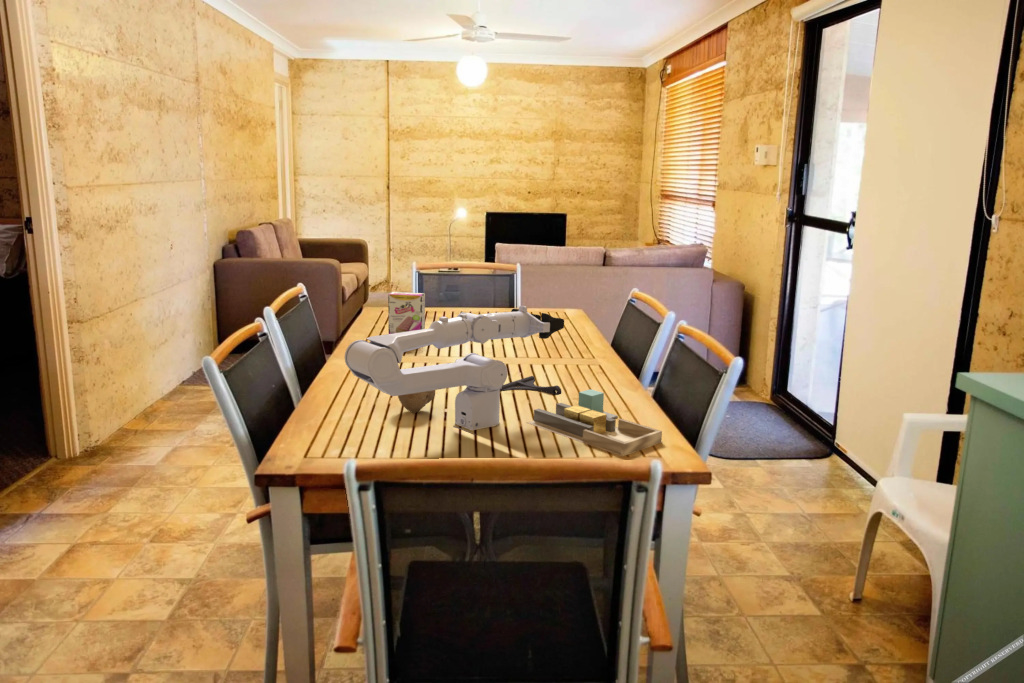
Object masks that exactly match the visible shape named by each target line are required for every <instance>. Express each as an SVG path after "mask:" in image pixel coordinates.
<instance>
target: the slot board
mask: <svg viewBox="0 0 1024 683" xmlns="http://www.w3.org/2000/svg"><path fill="white" fill-rule="evenodd" d="M568 407H572V405H570V404H566V403H563V402H558V403H556V404H555V413H554V412H552V411H547V410H545V409H541V408H537V409H534V410H533V420H531V421H527V422H526V424H529V425H531V426H535V427H538V428H540V429H543V430H546V431H549V432H551V433H554V434H557V435H560V436H563V437H566V438H569V439H572V440H574V441H577V442H580V443H583V444H586V445H589V446H591V447H594V448H597V449H600V450H603V451H606V452H609V453H611V454H614V455H617V456H620V457H624V456H627V455H630V454H633V453H636V452H640V451H642V450H644V449H648V448H650V447H653V446H656V445H659V444H661V443H663V441H662V439H663V431H662V430H659V429H656V428H652V427H650V426H647V425H643V424H641V423H636V422H633V421H630V420H627V419H624V418H619V419H618V420H616V418H615V419H612V418H608V417H606V432H605V433H602V434H598V433H595V432H594V426H591V425H588V424H585V423H582V422H579V421H576V420H573V419H570V418H566V417H564V409H565V408H568ZM616 421H618V423H617V424H616ZM616 425H617V426H616Z"/></svg>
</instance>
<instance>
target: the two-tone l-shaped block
mask: <svg viewBox="0 0 1024 683" xmlns="http://www.w3.org/2000/svg"><path fill="white" fill-rule="evenodd" d="M604 398H605V393H604V392H601V391H599V390H596V389H585V390H582V391H579V392H578V404H577V405H578V406H581V407H584V408H588V409H591V410H594V411H598V412H601V413H604V414H607V416H606V417H608V418H612V419H615V420H616V419H618V415H617V414H613V413H610V412H606V411H604Z"/></svg>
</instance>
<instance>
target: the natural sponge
mask: <svg viewBox="0 0 1024 683" xmlns="http://www.w3.org/2000/svg"><path fill="white" fill-rule="evenodd" d="M435 395H436V390H432V391H425V392H419V393H412V394H406V395H399V396H397V397H398V400H399V402H400V404H401V405H402V406H403V407H404V408H405V409H406V410H407V411H408V412H409V413H415V414H416V413H418V412H421V410H422V409H423V408H424V407H426V405H427V404H429V403H431V401H433V399H434V398H435Z"/></svg>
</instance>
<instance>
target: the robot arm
mask: <svg viewBox="0 0 1024 683" xmlns="http://www.w3.org/2000/svg"><path fill="white" fill-rule="evenodd" d="M438 319H439V320H435V321H433V322H431V324H430V326H429V327H428V328H425V329H422V330H415V331H408V332H401V333H394V334H389V333H388V334H387V333H386V334H381V335H379V334H378V335H371V336H369V337H366V338H365V340H364V339H357V340H353V341H352V342H351V343H350V344H349V345H348V346H347V348H346V349H345V352H344V362H345V365H346V366H347V368H348V369H349V371H350V372H351V373H352V375H353V376H355V377H357V378H358V379H360V380H362V381H363V382H365V383H367V384H368V385H371V386H372V387H374V388H375V389H377V390H378V391H380V392H382V393H383V394H386V395H389V396H391V397H398V396H399V395H406V394H412V393H419V392H425V391H432V390H435V391H437V390H444V389H451V388H457V387H464V386H465V388H464V390H462V391H459V392H458V393H457V394H456V396H455V400H454V424H455V425H453V427H454V428H457V429H458V430H461V431H464V432H467V433H468V434H469V433H470V434H471V435H475V436H476V435H477V434H476V433H473V432H470V431H475V430H480V429H483V428H484V429H485V428H492V427H495V426H497V425H499V424H500V404H501V403H500V402H501V401H500V400H501V398H500V396H501V394H500V393H501V389H502V385H505V384H506V383H505V382H506V381H507V377H508V368H507V365H506V364H505V362H503V361H502V360H498V359H493V358H489V357H487V356H483V355H480V354H478V353H474V352H471V353H468V354H466V355H465V356H463V357H462V358H456V360H455V362H450V363H449V362H448V363H439V364H432V365H424V366H416V367H409V368H401V369H400V366H399V364H401V363H402V361H403V356H404V353H407V352H409V351H413V350H418V349H420V348H424V347H427V346H431V345H432V346H434V347H435V348H436V349H439V350H441V349H445V348H450V347H454V346H458V345H463V344H468V342H473V343H478V344H479V343H480V344H482V345H483V344H486V343H487V342H488V341H489V340H500V339H501V340H502V339H503V340H504V339H511V338H512V339H513V338H521V339H522V338H528V337H531V336H533V335H537V334H538V338H539V339H544V340H547V339H548V338H549V337H551V336H552V334H554V333H557V332H558V331H561V330H563V329H564V328H565V319H564V318H561V317H560V318H559V317H554V316H551V315H550V314H549V313H546V312H541V315H539V314H535V313H530V312H529V311H528V307H527V306H526V305H519V306H518V308H513V309H511V311H505V312H504V311H503V312H488V313H483V314H481V313H480V314H475V313H473V312H472V313H471V312H463V311H462V312H460V313H458V315H457V316H455V317H451V318H449V317H446V316H440V317H438ZM368 341H369V342H368ZM456 425H457V426H456ZM458 426H460V427H458ZM461 427H462V428H461ZM463 428H464V429H463ZM466 429H467V430H466Z"/></svg>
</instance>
